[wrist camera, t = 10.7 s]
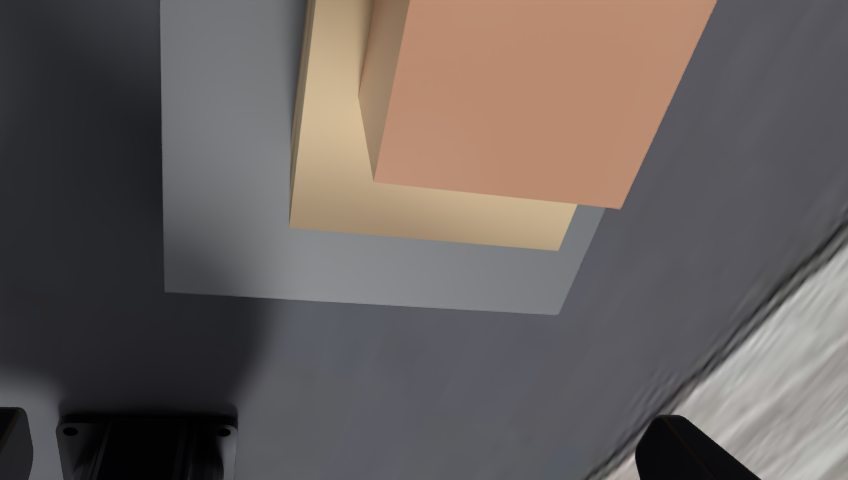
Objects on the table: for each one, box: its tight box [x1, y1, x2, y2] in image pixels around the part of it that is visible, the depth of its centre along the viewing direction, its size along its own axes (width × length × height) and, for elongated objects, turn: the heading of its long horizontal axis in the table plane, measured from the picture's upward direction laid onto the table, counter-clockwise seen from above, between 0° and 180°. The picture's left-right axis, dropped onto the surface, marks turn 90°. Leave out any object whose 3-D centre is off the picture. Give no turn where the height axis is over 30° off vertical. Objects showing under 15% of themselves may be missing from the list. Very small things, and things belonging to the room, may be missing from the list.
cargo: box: [358, 0, 717, 209], centre depth 10 cm, size 4×4×3 cm
